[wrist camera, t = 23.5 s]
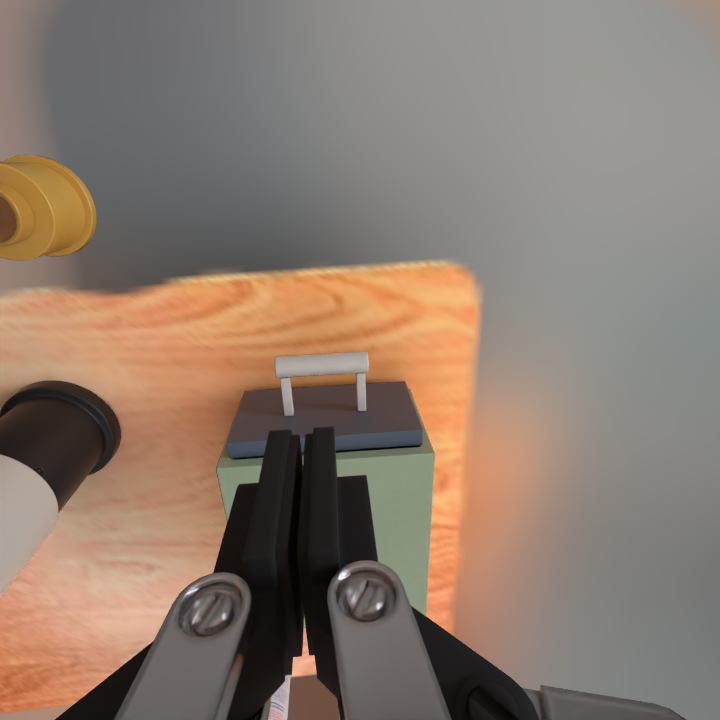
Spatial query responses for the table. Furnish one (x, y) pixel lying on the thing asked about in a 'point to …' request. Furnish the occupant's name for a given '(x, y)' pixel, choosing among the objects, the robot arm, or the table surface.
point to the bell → (42, 209)
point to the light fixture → (46, 462)
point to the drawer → (327, 408)
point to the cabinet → (375, 503)
